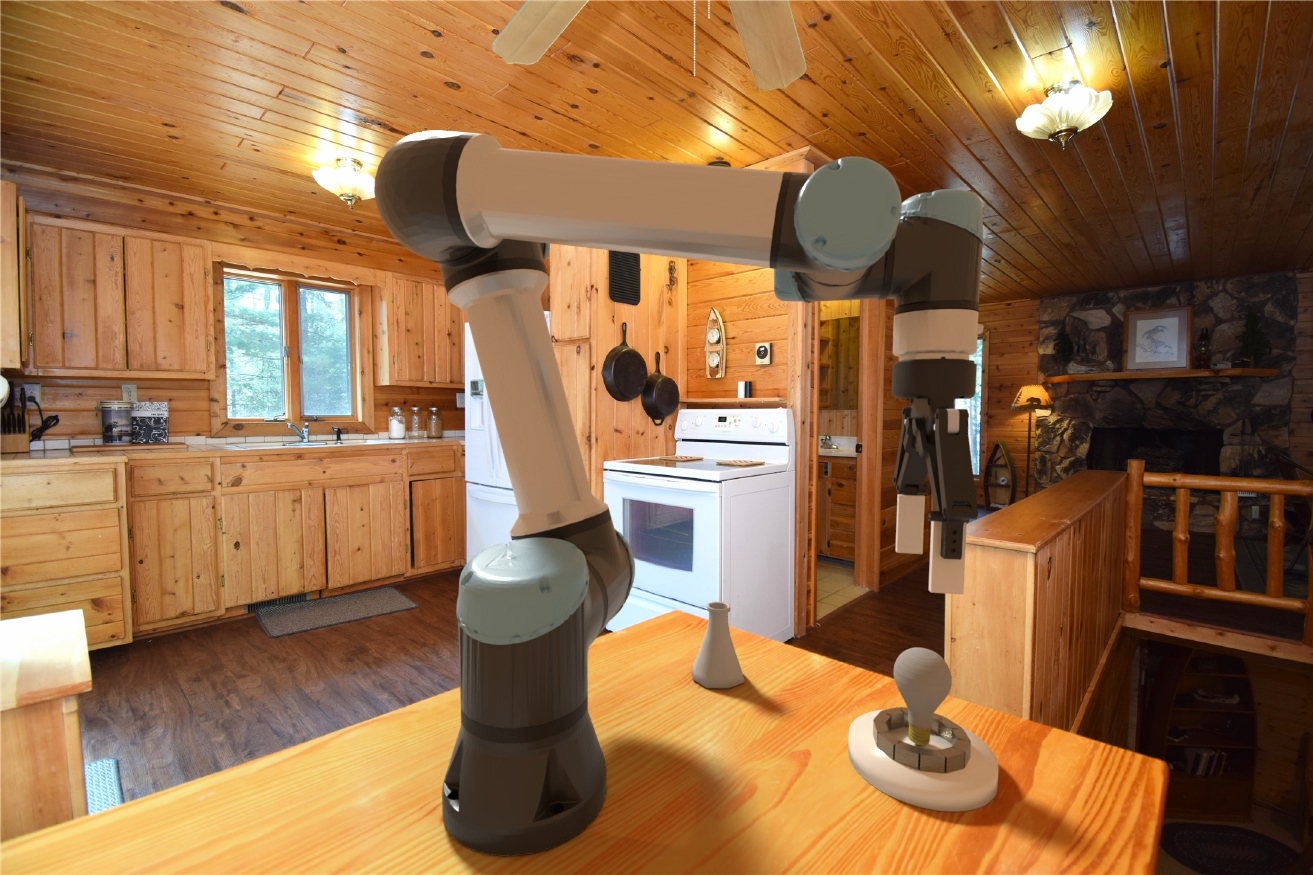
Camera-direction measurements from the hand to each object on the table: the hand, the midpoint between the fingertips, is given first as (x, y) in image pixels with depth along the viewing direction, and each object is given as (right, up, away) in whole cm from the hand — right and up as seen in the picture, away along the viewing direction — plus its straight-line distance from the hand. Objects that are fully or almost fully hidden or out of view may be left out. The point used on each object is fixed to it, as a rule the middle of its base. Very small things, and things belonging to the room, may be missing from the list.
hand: (925, 570), depth 59 cm
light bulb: (0, -19, +1) cm, 19 cm away
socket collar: (0, -18, +1) cm, 18 cm away
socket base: (0, -20, +1) cm, 20 cm away
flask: (-19, -19, +20) cm, 34 cm away
